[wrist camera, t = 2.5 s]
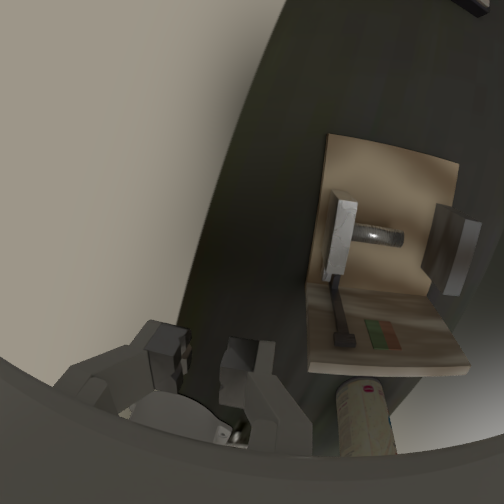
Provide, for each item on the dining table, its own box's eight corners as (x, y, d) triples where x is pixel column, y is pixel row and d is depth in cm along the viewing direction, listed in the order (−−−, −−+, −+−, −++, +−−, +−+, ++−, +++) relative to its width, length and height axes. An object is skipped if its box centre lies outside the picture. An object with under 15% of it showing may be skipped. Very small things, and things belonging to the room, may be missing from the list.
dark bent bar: (339, 285, 29) (355, 347, 20) (324, 283, 29) (334, 346, 20) (345, 257, 28) (366, 313, 19) (329, 255, 28) (344, 311, 19)
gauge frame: (418, 298, 30) (464, 376, 18) (304, 285, 32) (307, 373, 19) (452, 162, 24) (536, 185, 12) (326, 133, 26) (356, 127, 13)
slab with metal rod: (380, 280, 28) (393, 305, 24) (317, 272, 29) (320, 297, 24) (398, 200, 25) (418, 213, 20) (330, 188, 26) (338, 199, 21)
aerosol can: (373, 406, 38) (389, 521, 19) (330, 405, 38) (334, 527, 20) (388, 375, 35) (417, 502, 17) (342, 374, 36) (354, 511, 17)
